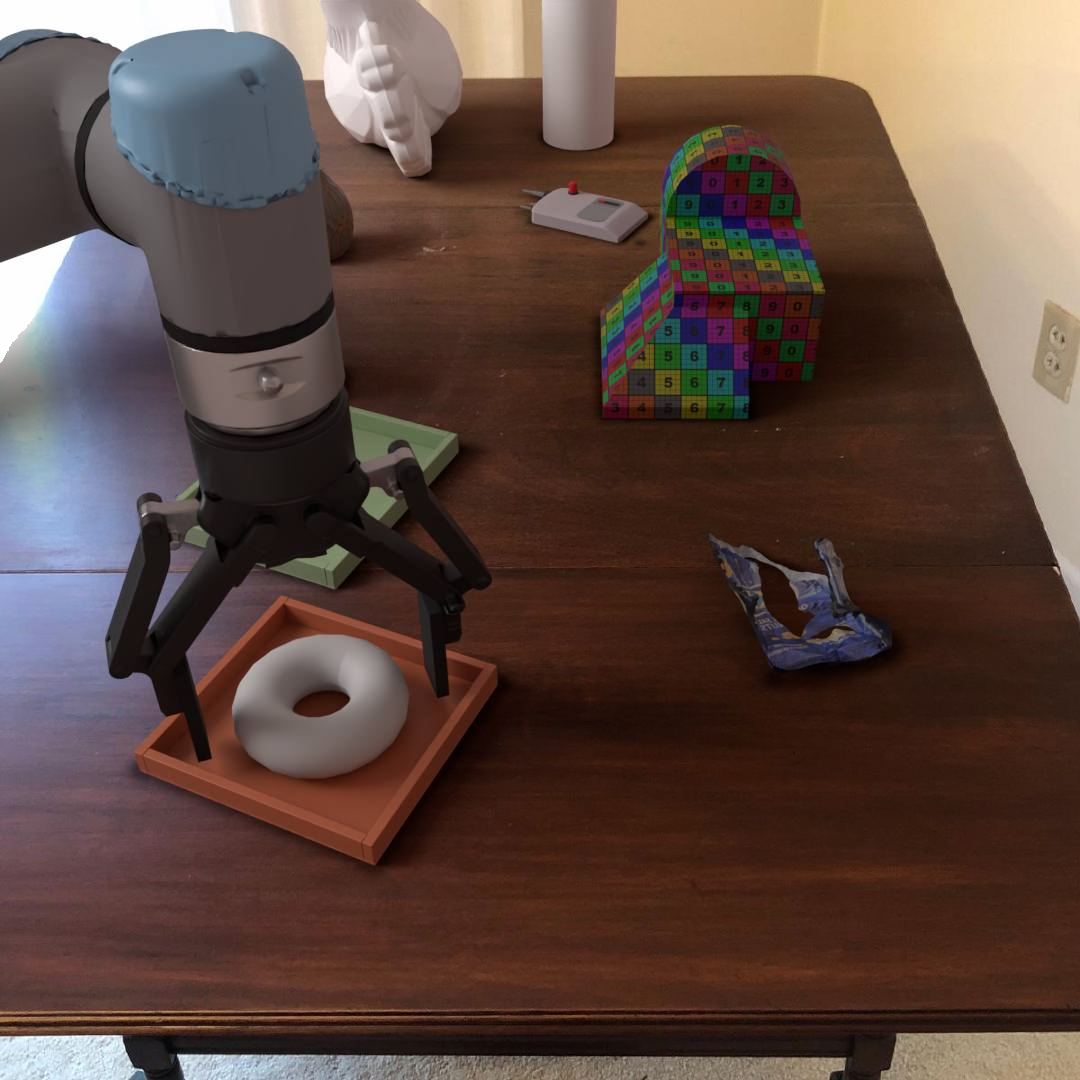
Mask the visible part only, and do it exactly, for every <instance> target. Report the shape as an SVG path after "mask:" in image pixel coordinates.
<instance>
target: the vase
mask: <svg viewBox="0 0 1080 1080" xmlns="http://www.w3.org/2000/svg"><path fill="white" fill-rule="evenodd" d="M319 169H320V178H321V187H322V195H323V204H324V213H325V221H326V230H327V239H328V247H329V256H330V262H331V261H334V260H337V259H340V258H341V257H342V256H343V255H345V253H346V251H348V249H349V247H350V246H351V243H352V240H353V236H354V227H355V226H354V224H355V222H354V214H353V209H352V205H351V203H350V201H349V199H348V197H347V195H346V193H345V192H344V190H343V189H342V188H341V187H340V186H339V185H338V184H337V183H336V182H335V180H333V179H332V178H331V177H330V176H329V175H328V173H327V172H326V170H325V168H324V167H323V166H322V165H321V164H319Z"/></svg>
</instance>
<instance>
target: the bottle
mask: <svg viewBox="0 0 1080 1080" xmlns="http://www.w3.org/2000/svg"><path fill="white" fill-rule="evenodd" d="M617 13H618V0H541V62H542V63H541V66H542V137H543V138H542V139H543V141H544V142H545V143H546V144H548V145H550V146H551V147H554V148H556V149H557V148H558V149H562V150H566V151H567V150H568V151H587V150H595V149H599V148H602V147H604V146H607V145H609V144H610V143H611V142H612V141H613V140H614V129H615V128H614V127H615V124H614V122H615V93H616V92H615V91H616V90H615V88H616V87H615V86H616V54H617V53H616V51H617V50H616V49H617V48H616V47H617V16H618V15H617Z"/></svg>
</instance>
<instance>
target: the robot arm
mask: <svg viewBox="0 0 1080 1080" xmlns="http://www.w3.org/2000/svg"><path fill="white" fill-rule="evenodd" d="M312 126H313V125H312V121H311V115H310V110H309V103H308V99H307V93H306V87H305V81H304V77H303V72H302V68H301V66H300V64H299V62H298V60H297V59H296V57H295V55H294V53H292V52H291V50H289V49H288V48H287V47H286V46H285V45H284V44H282V43H281V42H280V41H278V40H276V39H274V38H273V37H269V36H267V35H265V34H262V33H258V32H254V31H244V30H243V31H238V32H233V31H227V30H226V29H223V28H199V29H198V28H197V29H187V30H181V31H175V32H169V33H164V34H160V35H155V36H152V37H149V38H147V39H144V40H141V41H139V42H136V43H134V44H132V45H130V46H128V47H127V48H126V49H125V50H121V49H120V48H118V47H116V46H114V45H112V44H111V43H109V42H103V41H101V40H99V39H98V38H96V37H93V36H87V37H84V36H82V35H80V34H78V33H76V32H63V31H59V30H55V29H49V28H30V29H29V28H28V29H23V30H20V31H17V32H14V33H10V34H9V35H6V36H5V37H3V38H1V39H0V264H1V263H3V262H7V261H9V260H12V259H15V258H18V257H20V256H23V255H25V254H29V253H32V252H35V251H37V250H40V249H43V248H46V247H48V246H51V245H54V244H57V243H60V242H62V241H65V240H68V239H71V238H73V237H76V236H79V235H81V234H84V233H86V232H89V231H94V230H99V231H102V232H104V234H105V233H106V234H107V235H109V236H112V237H114V238H116V239H117V240H119V241H121V242H123V243H125V244H127V245H129V246H131V247H134V248H138V249H141V250H142V252H143V254H144V255H145V258H146V263H147V267H148V270H149V274H150V279H151V282H152V286H153V290H154V294H155V298H156V303H157V306H158V310H159V317H160V320H161V324H162V330H163V334H164V339H165V342H166V346H167V350H168V355H169V359H170V362H171V368H172V371H173V375H174V379H175V380H174V381H175V384H176V388H177V392H178V397H179V399H180V403H181V406H182V407H183V408H184V409H185V410H184V414H183V415H184V416H183V417H184V423H185V428H186V431H187V437H188V440H189V444H190V449H191V454H192V458H193V462H194V467H195V471H196V475H197V480H199V488H198V491H197V493H196V496H195V499H187V500H178V501H174V500H172V501H171V500H170V501H163V499H162V497H161V496H160V495H159V494H158V493H156V492H150V491H149V492H145V493H142V494H140V495H139V496H138V498H137V500H136V511H137V519H138V527H139V534H138V537H137V540H136V543H135V545H134V546H135V547H134V549H133V552H132V555H131V559H130V561H129V564H128V567H127V570H126V574H125V577H124V580H123V583H122V586H121V589H120V592H119V595H118V598H117V601H116V603H115V607H114V610H113V613H112V616H111V619H110V623H109V626H108V628H107V632H106V634H105V639H104V644H105V645H104V646H105V654H106V661H107V670H108V674H109V676H110V677H112V678H113V679H115V680H125V679H128V678H130V677H131V676H132V675H133V674H142V675H145V676H147V677H149V679H150V681H151V685H152V688H153V691H154V694H155V697H156V700H157V704H158V707H159V711H160V712H161V713H162V714H163V715H164V716H165V718H166V717H168V716H172V715H176V714H180V713H184V714H185V718H186V721H187V725H188V728H189V732H190V735H191V739H192V742H193V746H194V749H195V753H196V756H197V760H198V762H202V761H206V760H210V759H212V755H211V751H210V746H209V741H208V736H207V731H206V726H205V722H204V718H203V714H202V711H201V707H200V703H199V700H198V696H197V692H196V689H195V687H196V685H195V682H194V681H195V680H194V678H193V674H192V671H191V667H190V663H189V660H188V655H187V652H188V651H189V649H191V646H192V645H193V644H194V642H195V641H196V639H197V638H198V637H199V635H200V634H201V633H202V631H203V630H204V628H205V627H206V625H207V624H208V622H209V621H210V620H211V619H212V618H213V616H214V614H215V613H216V612H217V610H218V609H219V607H220V606H221V605H222V603H223V602H224V600H225V599H226V597H227V596H228V595H229V593H230V592H231V591H232V589H233V588H239V587H240V586H241V585H242V584H243V582H244V581H245V579H246V578H247V577H248V575H250V573H251V571H252V570H253V568H254V567H255V566H256V565H257V564H265V566H266V567H265V569H267V570H268V569H270V568H272V567H276V566H280V565H283V564H285V563H288V562H290V561H292V560H294V559H297V558H315V557H319V556H324V555H327V550H328V549H330V548H332V547H333V546H334V545H335V544H337V545H338V546H340V547H342V548H343V549H345V550H346V551H348V552H350V553H351V554H353V555H355V556H356V557H358V558H362V557H364V559H366V560H368V561H370V562H372V563H373V564H375V565H376V566H378V567H380V568H381V569H383V570H385V571H386V572H388V573H389V574H391V575H393V576H394V577H396V578H397V579H399V580H400V581H403V582H404V583H405V584H407V585H409V586H410V587H413V588H414V589H415V590H416V595H417V598H416V599H417V607H418V617H419V626H420V635H421V641H422V647H423V657H424V667H425V670H426V672H427V674H428V677H429V679H430V682H431V684H432V687H433V689H434V692H435V694H436V696H437V698H441V697H444V696H448V695H450V692H449V680H448V668H447V656H446V649H447V646H446V645H450V644H454V643H458V642H460V640H461V637H462V635H463V630H462V616H461V614H462V613H463V612H464V610H465V609H466V605H467V604H466V602H465V599H464V597H463V596H464V595H465V594H466V593H467V592H469V591H471V590H473V589H474V590H475V591H476V590H477V591H483V590H485V589H487V588H489V587H490V586H491V584H492V582H493V576H492V573H490V571H489V568H488V567H487V565H486V563H485V560H484V559H483V557H482V555H481V553H480V552H479V549H478V548H477V547H476V545H475V544H474V542H473V541H472V540H471V539H470V537H469V536H468V535H467V534H466V533H465V531H464V530H463V529H462V527H461V526H460V525H459V524H458V522H457V521H456V520H455V519H454V518H453V516H452V515H451V513H450V512H449V511H448V510H447V509H446V507H445V506H444V505H443V504H442V502H441V501H440V500H439V499H438V497H437V496H436V494H435V493H434V492H433V490H432V489H431V488H430V487H429V486H427V485H426V483H425V479H424V474H423V471H422V469H421V467H420V465H419V463H418V461H417V459H416V457H415V455H414V452H413V451H412V449H411V447H410V445H409V443H408V442H407V441H406V440H402V439H400V440H395V441H393V442H392V443H391V444H390V445H389V447H388V454H387V455H384V456H381V457H378V458H375V459H371V460H368V461H365V462H362V463H361V462H360V461H359V460H358V459H357V458H356V454H355V446H354V438H353V431H352V423H351V415H350V408H349V406H350V402H349V401H350V400H349V394H348V392H347V389H346V386H345V379H346V373H345V366H344V365H345V364H344V358H343V352H342V344H341V337H340V331H339V323H338V317H337V308H336V303H335V296H334V282H333V274H332V273H333V272H332V266H331V261H330V256H329V247H328V239H327V230H326V221H325V213H324V204H323V195H322V187H321V178H320V169H319V165H320V159H321V151H320V142H319V141H318V139H317V132H316V130H315V129H313V127H312ZM371 487H379V488H382V489H383V490H384V491H385V493H386V494H387V495H388V496H390V497H394V498H395V499H396V500H401V499H403V498H404V500H405V502H406V504H407V506H408V510H409V512H410V513H411V514H412V516H413V517H414V518H415V520H416V521H417V522H418V523H419V525H420V526H421V527H422V528H423V529H424V531H425V532H426V533H427V534H428V536H430V538H431V539H432V540H433V541H434V542H435V544H436V545H437V546H438V548H439V549H440V550H441V551H442V552H443V554H444V555H445V556H446V558H447V559H448V560H449V561H450V562H449V563H447V564H446V563H445V562H443V561H442V560H440V559H439V558H437V557H436V556H434V555H432V554H431V553H430V552H428V551H427V550H425V549H423V548H421V547H420V546H419V545H417V544H416V543H414V542H412V541H411V540H410V539H408V538H407V537H405V536H403V535H402V534H400V533H399V532H397V531H396V530H394V529H393V528H392V527H391V528H389V527H388V526H386V525H385V524H383V523H382V522H380V521H379V520H377V519H376V518H374V517H373V516H371V515H370V514H368V513H367V512H366V511H365V509H364V508H363V507H362V504H363V503H364V501H365V499H366V498H367V496H368V494H369V491H370V488H371ZM195 526H200V527H201V528H202V529H203V530H204V531H205V532H206V533H208V534H209V535H210V536H209V537H208V539H207V542H206V547H205V548H204V550H203V552H202V554H201V555H200V556H199V558H198V559H197V560H196V562H195V563H194V565H193V566H192V567H191V569H190V571H189V572H188V573H187V575H186V577H184V579H183V581H182V582H181V583H180V584H179V586H178V588H177V589H176V591H175V592H174V594H173V595H172V597H171V598H170V599H169V601H168V602H167V604H166V605H165V606H164V608H163V610H162V611H161V612H160V614H159V615H158V616H157V618H156V620H155V621H154V622H153V624H152V625H151V623H152V620H153V618H154V614H155V611H156V608H157V605H158V603H159V599H160V596H161V593H162V591H163V588H164V586H165V583H166V579H167V576H168V574H169V569H170V566H171V565H170V564H171V558H172V557H171V551H178V550H180V549H181V545H182V544H183V543H184V542H185V541H184V540H185V537H186V533H187V532H188V530H190V529H191V528H193V527H195ZM150 625H151V627H150Z"/></svg>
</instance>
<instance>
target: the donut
mask: <svg viewBox="0 0 1080 1080" xmlns="http://www.w3.org/2000/svg"><path fill="white" fill-rule="evenodd" d="M320 691H337V692H341V693H344V694H346V695H348V696H349V697H350V698H351V699H350V702H349V703H348V704H347V705H346V706H345V707H343V708H342V709H341V710H340V711H337V712H335V713H333V714H331V715H328V716H323V717H305V716H301V715H298V714H296V713H294V712H293V707H294V706H295V704H296V703H297V702H299V701H300V700H301V699H302V698H304V697H306V696H308V695H310V694H312V693H316V692H320ZM408 703H409V690H408V687H407V684H406V681H405V677H404V674H403V671H402V669H401V668H400V667H399V666H398V664H397V663H396V662H395V661H394V660H393V659H392V658H391V656H390V655H389V654H388V653H387V652H386V651H385V650H383V649H381V648H379V647H377V646H376V645H374V644H372V643H370V642H369V641H367V640H363V639H359V638H355V637H350V636H346V635H314V636H310V637H305V638H300V639H296V640H293V641H291V642H289V643H287V644H284V645H282V646H280V647H278V648H276V649H274V650H272V651H270V652H269V653H268V654H267V655H265V656H264V657H263V658H261V659H260V660H259V661H257V662H256V663H255V664H253V666H252V667H251V668H250V670H249V671H248V672H247V674H246V675H245V677H244V678H243V679H242V681H241V682H240V684H239V686H238V689H237V692H236V695H235V699H234V702H233V706H232V715H233V722H234V729H235V734H236V736H237V738H238V740H239V741H240V743H241V744H242V746H243V747H244V749H245V750H246V751H247V753H248V754H249V756H250V757H252V758H253V759H255V760H256V761H258V762H259V763H261V764H262V765H264V766H265V767H267V768H268V769H270V770H271V771H273V772H276V773H279V774H283V775H287V776H290V777H294V778H328V777H332V776H336V775H341V774H345V773H349V772H352V771H354V770H356V769H358V768H360V767H362V766H364V765H365V764H367V763H369V762H371V761H373V760H375V759H376V758H377V757H378V756H379V755H380V754H381V753H383V752H384V751H385V750H386V749H387V748H388V747H389V746H390V745H391V744H392V743H393V742H394V740H395V739H396V737H397V735H398V733H399V732H400V730H401V728H402V726H403V725H404V723H405V721H406V717H407V710H408Z"/></svg>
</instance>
